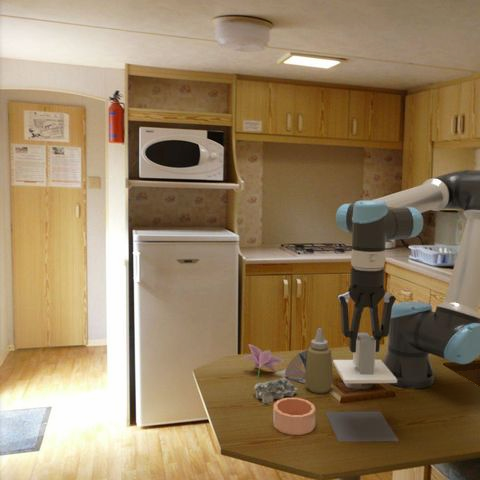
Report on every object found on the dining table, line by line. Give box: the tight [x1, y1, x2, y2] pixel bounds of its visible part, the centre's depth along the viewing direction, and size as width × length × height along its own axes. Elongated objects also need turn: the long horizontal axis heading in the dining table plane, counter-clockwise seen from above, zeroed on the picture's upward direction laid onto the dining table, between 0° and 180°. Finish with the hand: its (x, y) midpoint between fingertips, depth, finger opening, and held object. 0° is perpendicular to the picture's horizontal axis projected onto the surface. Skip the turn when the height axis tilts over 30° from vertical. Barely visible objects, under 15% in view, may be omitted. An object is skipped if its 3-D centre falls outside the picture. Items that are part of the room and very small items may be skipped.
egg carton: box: [253, 376, 298, 405], centre depth 137 cm, size 11×8×4 cm
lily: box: [242, 343, 286, 380], centre depth 151 cm, size 12×12×10 cm
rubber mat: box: [325, 411, 400, 443], centre depth 121 cm, size 14×14×1 cm
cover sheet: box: [332, 332, 397, 384], centre depth 118 cm, size 12×12×9 cm
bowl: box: [272, 397, 316, 436], centre depth 121 cm, size 10×10×5 cm
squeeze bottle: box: [304, 327, 334, 394], centre depth 140 cm, size 8×8×18 cm
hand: (363, 364), depth 119 cm, fingers closed on cover sheet, 3 cm apart
